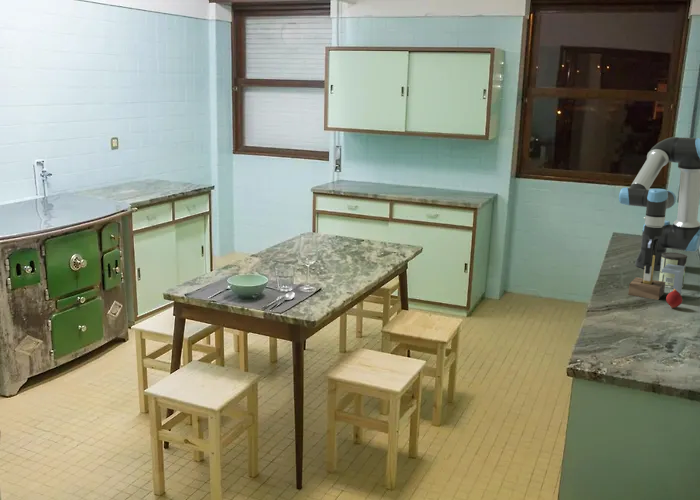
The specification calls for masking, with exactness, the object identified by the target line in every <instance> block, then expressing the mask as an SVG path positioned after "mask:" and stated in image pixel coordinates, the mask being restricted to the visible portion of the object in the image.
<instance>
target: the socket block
mask: <svg viewBox="0 0 700 500" xmlns="http://www.w3.org/2000/svg"><path fill="white" fill-rule="evenodd" d="M665 288H666V287H665V282H662V281H659V280H655V279H652V285H649V284H643V278H642V277H635V278H634V279H633V280H632V281H631V282H630V283H629V285H628V293H627V294H628V296H633V297H638V296H639V297H641V298H646V299H652V300H657V301H659V299H661V297H662V296H663V295H664V294H665ZM639 297H638V298H639Z"/></svg>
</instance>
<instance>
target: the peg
mask: <svg viewBox="0 0 700 500" xmlns="http://www.w3.org/2000/svg"><path fill="white" fill-rule="evenodd" d="M654 262H655V255H653V259H652V271H651V280H650V281H645V280H643V284H649V285H652V280H654V279H653V278H654V271H655V270H654ZM644 269H645V268H643V270H644ZM653 270H654V271H653ZM643 278H644V275H643Z"/></svg>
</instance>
